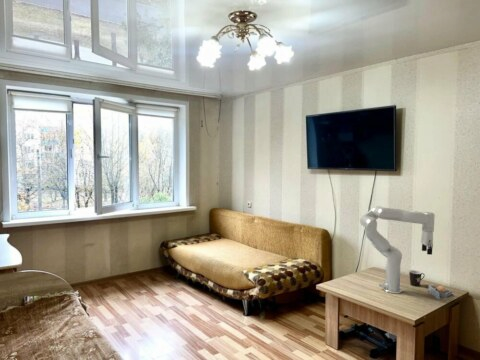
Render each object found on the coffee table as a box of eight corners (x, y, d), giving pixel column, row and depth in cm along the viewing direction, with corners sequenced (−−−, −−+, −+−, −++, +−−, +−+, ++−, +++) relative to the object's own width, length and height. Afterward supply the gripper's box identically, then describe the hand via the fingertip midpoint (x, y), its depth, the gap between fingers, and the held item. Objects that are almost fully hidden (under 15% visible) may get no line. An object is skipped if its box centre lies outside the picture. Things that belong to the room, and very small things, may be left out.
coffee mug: (410, 286, 259) (410, 273, 258) (407, 282, 267) (407, 269, 267) (427, 287, 256) (427, 274, 256) (423, 283, 265) (424, 271, 264)
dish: (445, 297, 238) (445, 294, 238) (431, 293, 246) (431, 290, 245) (451, 294, 244) (451, 291, 243) (437, 290, 251) (437, 287, 251)
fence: (436, 299, 235) (436, 293, 235) (427, 290, 251) (427, 285, 250) (440, 299, 235) (440, 293, 235) (431, 290, 250) (431, 285, 250)
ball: (439, 294, 242) (439, 287, 242) (436, 291, 247) (436, 284, 247) (446, 294, 242) (447, 287, 241) (443, 291, 247) (443, 284, 246)
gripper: (417, 226, 258) (416, 249, 259) (427, 231, 241) (425, 255, 242) (428, 227, 257) (427, 249, 258) (438, 231, 240) (437, 256, 241)
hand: (426, 252), depth 250 cm, fingers open, 9 cm apart
